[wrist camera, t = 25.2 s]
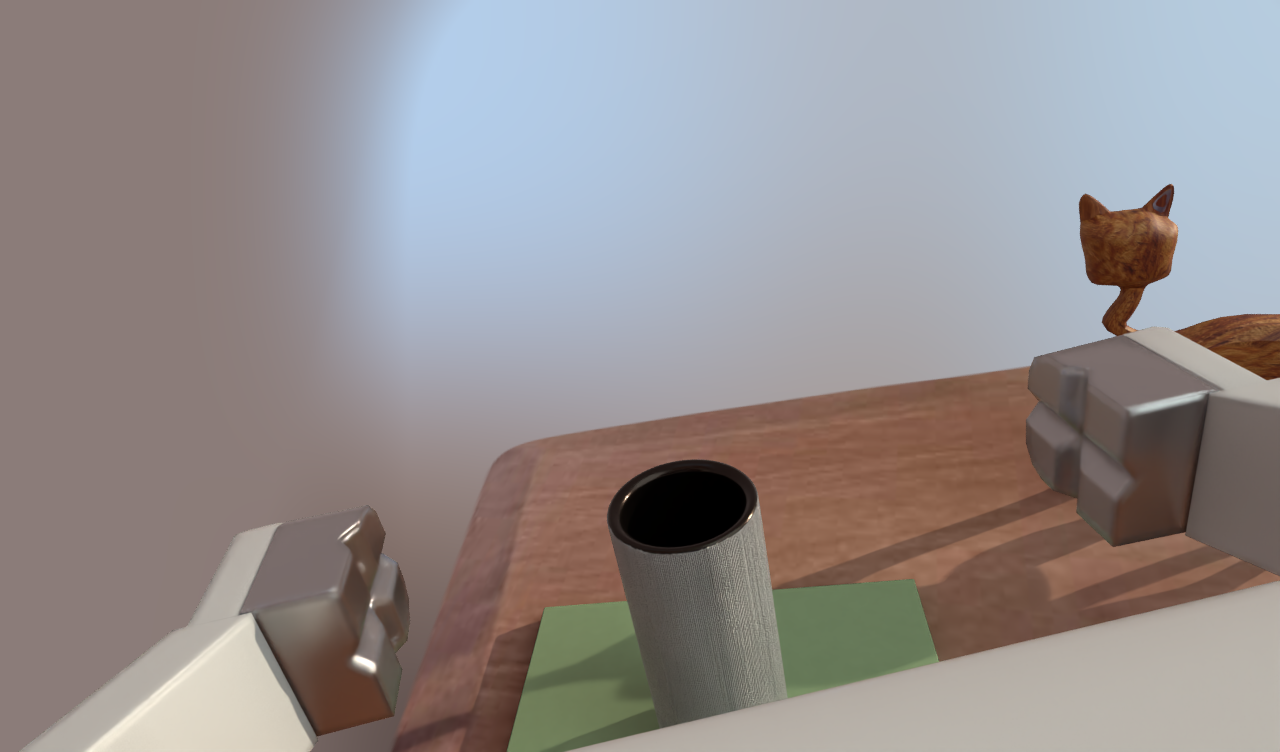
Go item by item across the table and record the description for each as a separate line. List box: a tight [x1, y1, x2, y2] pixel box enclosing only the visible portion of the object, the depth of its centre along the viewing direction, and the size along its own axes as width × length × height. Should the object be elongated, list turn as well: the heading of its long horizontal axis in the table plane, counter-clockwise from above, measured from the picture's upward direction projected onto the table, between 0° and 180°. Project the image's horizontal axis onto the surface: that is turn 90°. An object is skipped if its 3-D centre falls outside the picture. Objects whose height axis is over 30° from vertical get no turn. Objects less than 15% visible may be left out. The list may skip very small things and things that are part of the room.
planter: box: [607, 460, 788, 729], centre depth 26 cm, size 4×4×10 cm
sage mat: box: [507, 579, 939, 752], centre depth 29 cm, size 16×14×1 cm
